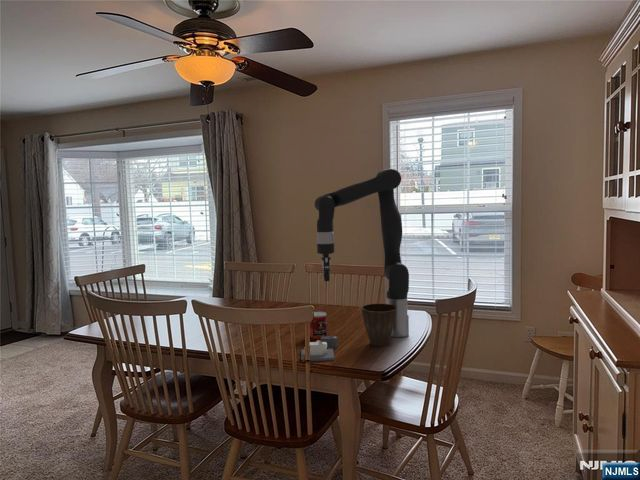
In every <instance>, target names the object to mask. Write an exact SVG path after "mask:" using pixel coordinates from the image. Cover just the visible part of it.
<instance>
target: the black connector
mask: <svg viewBox="0 0 640 480" xmlns="http://www.w3.org/2000/svg"><path fill="white" fill-rule="evenodd" d="M316 342H326V343H327V348H328V349H332V348H333V349H337V348H338V347H339V343H338V342H339V340H338V336H336V335H327V336H321V340H316Z"/></svg>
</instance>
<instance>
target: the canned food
mask: <svg viewBox="0 0 640 480" xmlns="http://www.w3.org/2000/svg"><path fill="white" fill-rule="evenodd" d="M327 316H328V315H327V312H325V311H314V317H313V320H312V322H311V323H310V322H309V323H310V324H309V325H310V338H311V339H312V340H314V341H315V340H316V341H317V340H321V336H328V317H327Z"/></svg>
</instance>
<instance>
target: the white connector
mask: <svg viewBox="0 0 640 480" xmlns="http://www.w3.org/2000/svg"><path fill="white" fill-rule="evenodd" d="M309 346H310V355H326V354H327V343H326V342H317V341H312V342H311V341H309Z"/></svg>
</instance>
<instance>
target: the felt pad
mask: <svg viewBox="0 0 640 480" xmlns="http://www.w3.org/2000/svg"><path fill="white" fill-rule="evenodd" d="M300 353H301V355H300V361H301V360H302V359H304V357H305V348H304V349H301V352H300ZM320 361H321V362H322V361H327V362H328V361H335V353H334V348H328V349H327V354H326V355H310V361H309V362H320Z"/></svg>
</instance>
